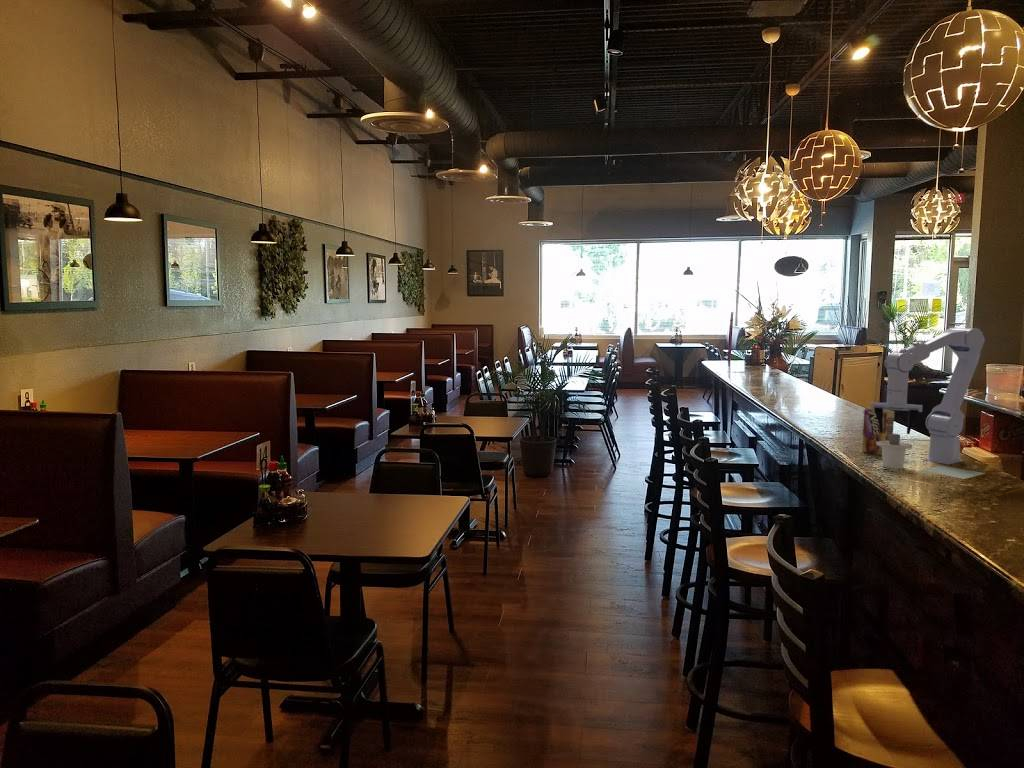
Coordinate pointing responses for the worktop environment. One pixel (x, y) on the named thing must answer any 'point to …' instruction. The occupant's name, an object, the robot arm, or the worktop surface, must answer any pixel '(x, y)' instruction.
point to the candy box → (876, 430)
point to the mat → (952, 472)
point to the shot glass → (893, 457)
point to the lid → (894, 443)
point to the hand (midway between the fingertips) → (894, 432)
